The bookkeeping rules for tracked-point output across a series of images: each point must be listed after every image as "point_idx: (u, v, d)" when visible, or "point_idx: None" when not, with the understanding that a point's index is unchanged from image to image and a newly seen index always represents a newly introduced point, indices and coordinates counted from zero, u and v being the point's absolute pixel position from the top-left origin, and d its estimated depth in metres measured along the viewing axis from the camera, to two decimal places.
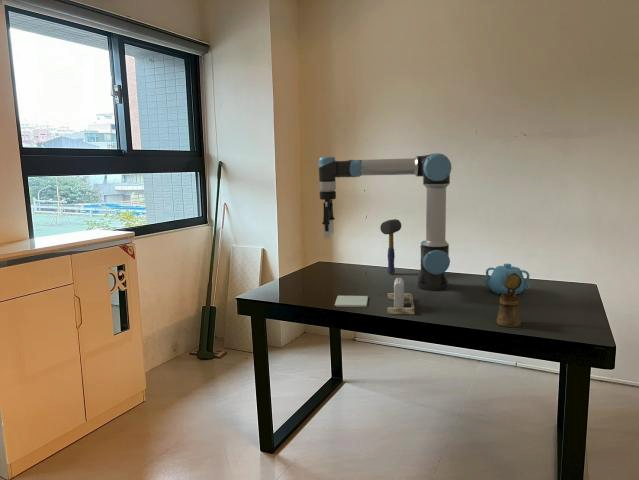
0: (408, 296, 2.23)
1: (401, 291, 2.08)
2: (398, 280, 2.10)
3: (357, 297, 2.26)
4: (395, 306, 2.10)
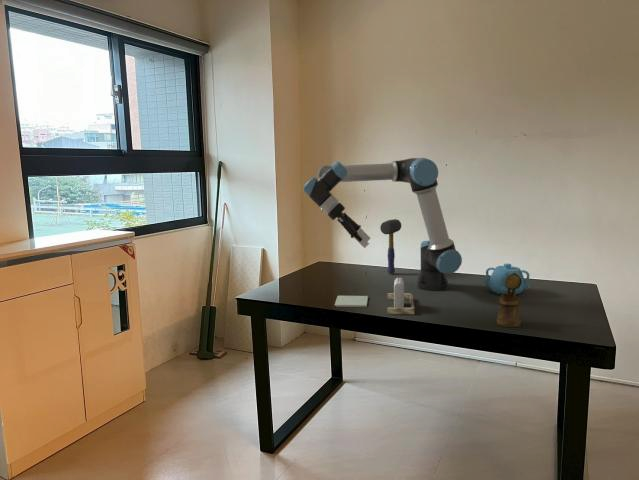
0: (408, 296, 2.23)
1: (401, 291, 2.08)
2: (398, 280, 2.10)
3: (357, 297, 2.26)
4: (395, 306, 2.10)
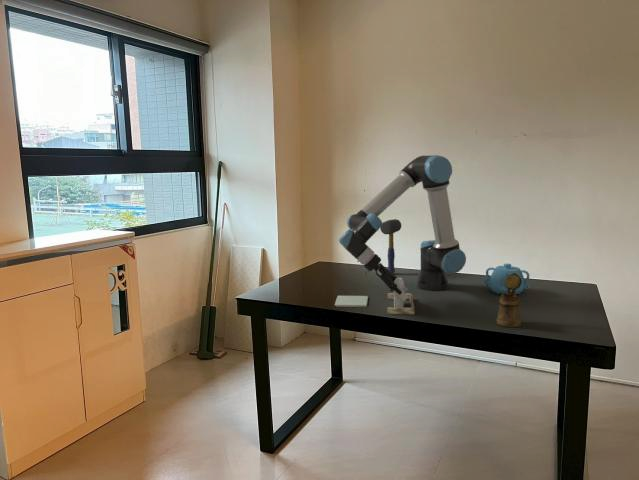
0: None
1: None
2: (398, 280, 2.10)
3: (357, 297, 2.26)
4: (395, 306, 2.10)
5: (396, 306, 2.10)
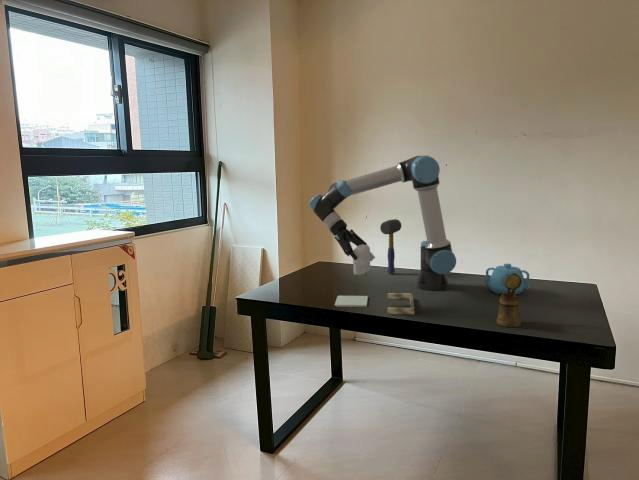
0: (408, 296, 2.23)
1: None
2: (358, 246, 2.13)
3: (357, 297, 2.26)
4: (353, 271, 2.13)
5: (354, 271, 2.13)
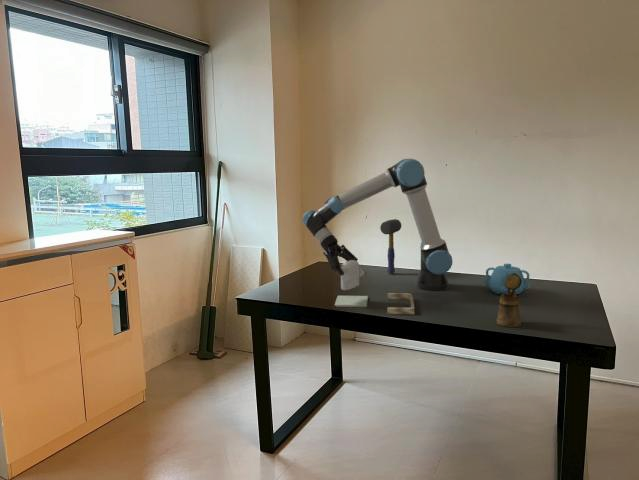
0: (408, 296, 2.23)
1: None
2: (346, 262, 2.17)
3: (357, 297, 2.26)
4: (341, 286, 2.18)
5: (341, 286, 2.18)
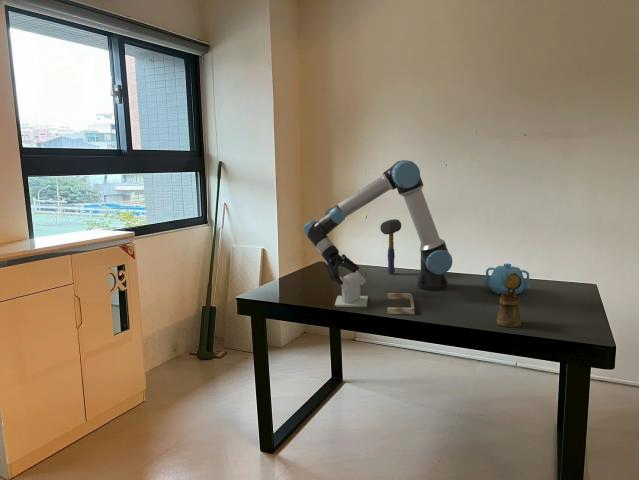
0: (408, 296, 2.23)
1: None
2: (347, 275, 2.18)
3: None
4: (342, 299, 2.19)
5: (343, 299, 2.19)
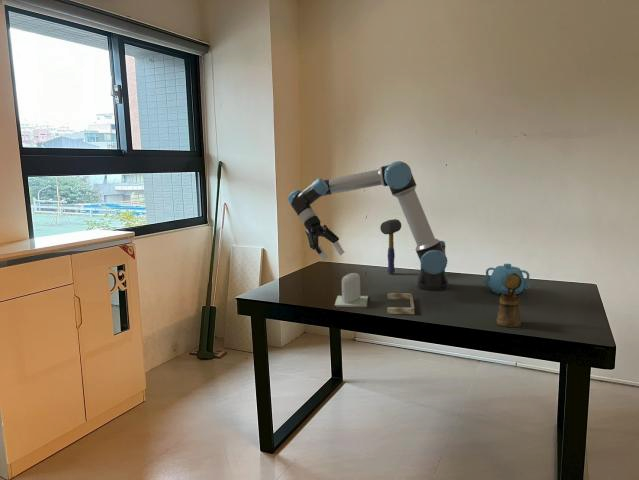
0: (408, 296, 2.23)
1: (346, 285, 2.16)
2: (347, 275, 2.18)
3: None
4: (342, 299, 2.19)
5: (343, 299, 2.19)
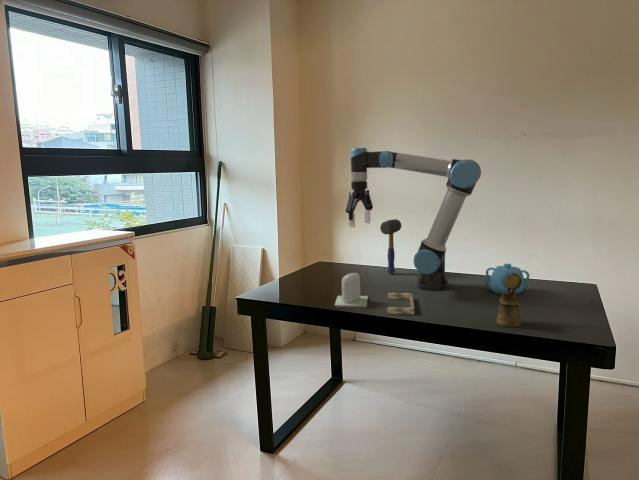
0: (408, 296, 2.23)
1: (346, 285, 2.16)
2: (347, 275, 2.18)
3: None
4: (342, 299, 2.19)
5: (343, 299, 2.19)
